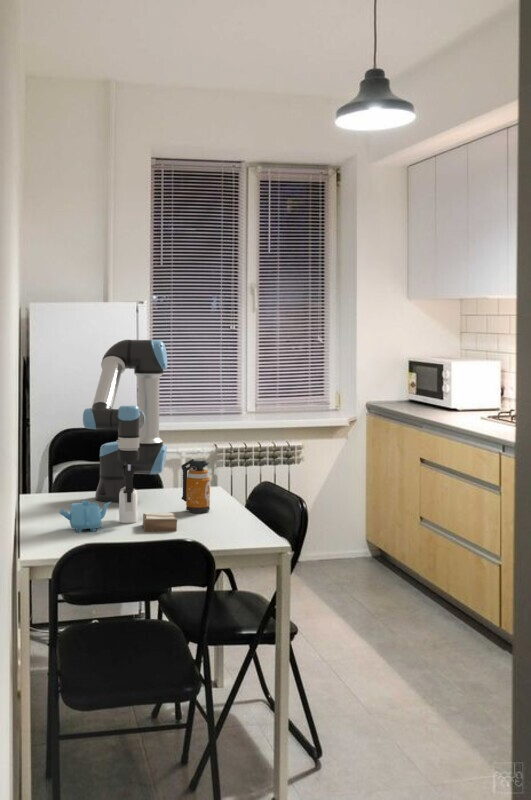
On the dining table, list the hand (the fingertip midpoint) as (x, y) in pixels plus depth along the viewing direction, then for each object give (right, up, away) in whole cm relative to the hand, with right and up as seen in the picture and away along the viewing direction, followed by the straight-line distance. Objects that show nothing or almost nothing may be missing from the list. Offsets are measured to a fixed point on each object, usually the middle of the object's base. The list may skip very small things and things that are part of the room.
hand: (128, 507), depth 324 cm
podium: (+12, -6, -8) cm, 16 cm away
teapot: (-13, -6, -12) cm, 19 cm away
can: (0, -5, +1) cm, 5 cm away
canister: (+22, -4, +21) cm, 31 cm away
